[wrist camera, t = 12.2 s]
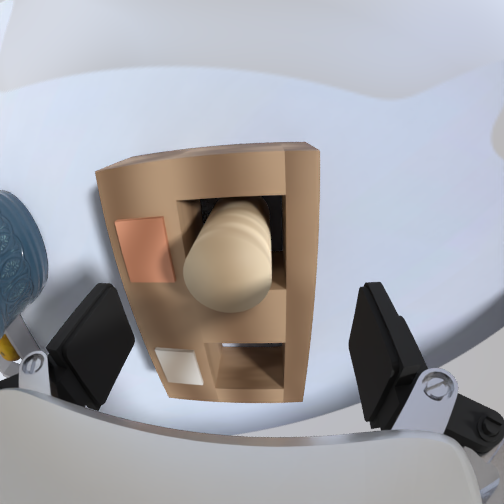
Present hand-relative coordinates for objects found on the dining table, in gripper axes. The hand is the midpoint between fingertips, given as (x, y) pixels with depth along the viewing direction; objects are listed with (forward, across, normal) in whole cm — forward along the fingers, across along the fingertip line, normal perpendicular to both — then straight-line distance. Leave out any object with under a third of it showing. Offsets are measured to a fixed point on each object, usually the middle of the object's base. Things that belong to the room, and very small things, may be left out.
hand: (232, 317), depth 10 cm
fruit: (+10, +41, +16) cm, 45 cm away
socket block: (+11, +2, +5) cm, 12 cm away
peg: (+11, +1, 0) cm, 11 cm away
